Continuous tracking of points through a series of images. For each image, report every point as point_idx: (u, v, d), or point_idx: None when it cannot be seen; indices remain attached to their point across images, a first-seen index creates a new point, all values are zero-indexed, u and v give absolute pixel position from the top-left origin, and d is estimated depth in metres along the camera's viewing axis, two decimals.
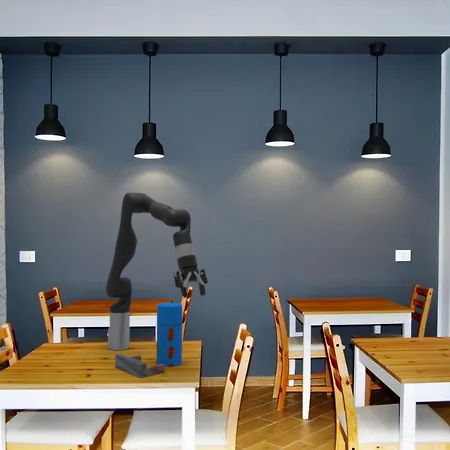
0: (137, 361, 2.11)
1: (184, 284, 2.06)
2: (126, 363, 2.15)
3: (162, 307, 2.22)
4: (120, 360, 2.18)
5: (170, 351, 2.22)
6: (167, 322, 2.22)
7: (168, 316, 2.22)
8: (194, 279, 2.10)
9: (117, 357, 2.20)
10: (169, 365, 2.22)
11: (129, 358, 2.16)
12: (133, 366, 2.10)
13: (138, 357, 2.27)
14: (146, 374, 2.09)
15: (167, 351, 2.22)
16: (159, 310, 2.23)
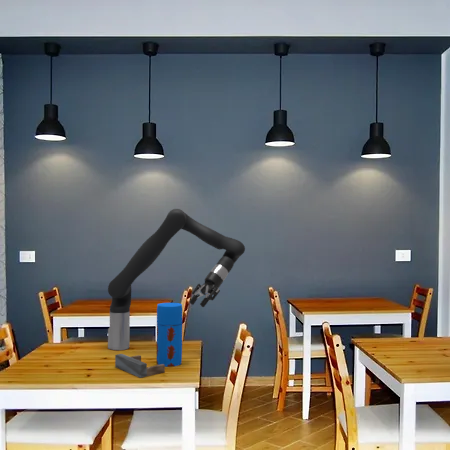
0: (137, 361, 2.11)
1: None
2: (126, 363, 2.15)
3: (162, 307, 2.22)
4: (120, 360, 2.18)
5: (170, 351, 2.22)
6: (167, 322, 2.22)
7: (168, 316, 2.22)
8: None
9: (117, 357, 2.20)
10: (169, 365, 2.22)
11: (129, 358, 2.16)
12: (133, 366, 2.10)
13: (138, 357, 2.27)
14: (146, 374, 2.09)
15: (167, 351, 2.22)
16: (159, 310, 2.23)
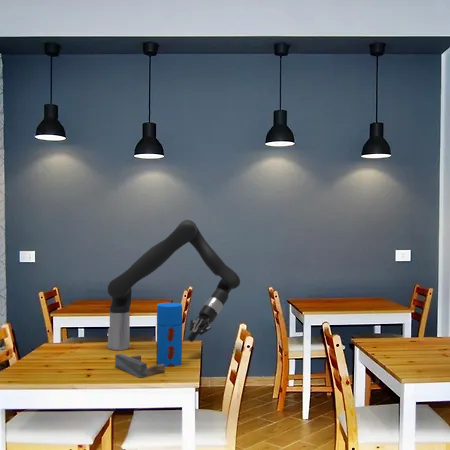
0: (137, 361, 2.11)
1: None
2: (126, 363, 2.15)
3: (162, 307, 2.22)
4: (120, 360, 2.18)
5: (170, 351, 2.22)
6: (167, 322, 2.22)
7: (168, 316, 2.22)
8: None
9: (117, 357, 2.20)
10: (169, 365, 2.22)
11: (129, 358, 2.16)
12: (133, 366, 2.10)
13: (138, 357, 2.27)
14: (146, 374, 2.09)
15: (167, 351, 2.22)
16: (159, 310, 2.23)
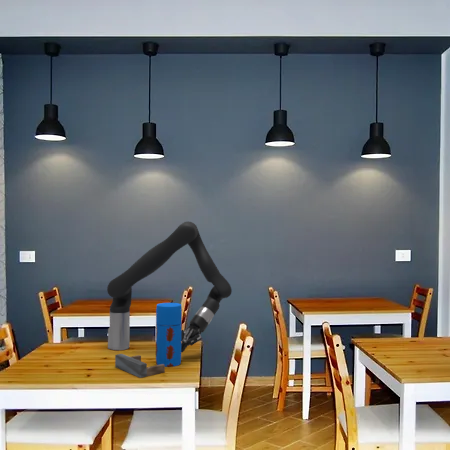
0: (137, 361, 2.11)
1: None
2: (126, 363, 2.15)
3: (161, 307, 2.22)
4: (120, 360, 2.18)
5: (169, 351, 2.22)
6: (166, 322, 2.21)
7: (167, 316, 2.21)
8: None
9: (117, 357, 2.20)
10: (168, 365, 2.22)
11: (129, 358, 2.16)
12: (133, 366, 2.10)
13: (138, 357, 2.27)
14: (146, 374, 2.09)
15: (166, 351, 2.22)
16: (158, 310, 2.23)
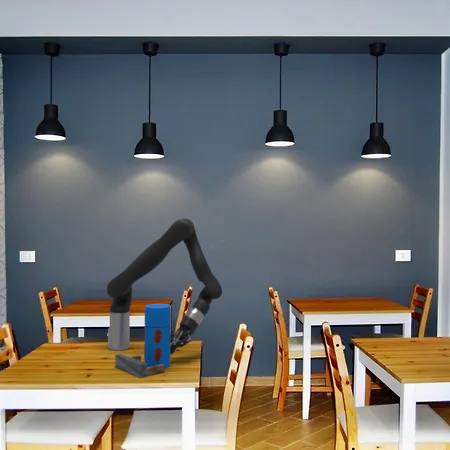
0: (137, 361, 2.11)
1: None
2: (126, 363, 2.15)
3: (149, 308, 2.19)
4: (120, 360, 2.18)
5: (157, 353, 2.18)
6: (154, 324, 2.18)
7: (155, 317, 2.18)
8: None
9: (117, 357, 2.20)
10: None
11: (129, 358, 2.16)
12: (133, 366, 2.10)
13: (138, 357, 2.27)
14: (146, 374, 2.09)
15: (154, 353, 2.18)
16: (146, 311, 2.20)
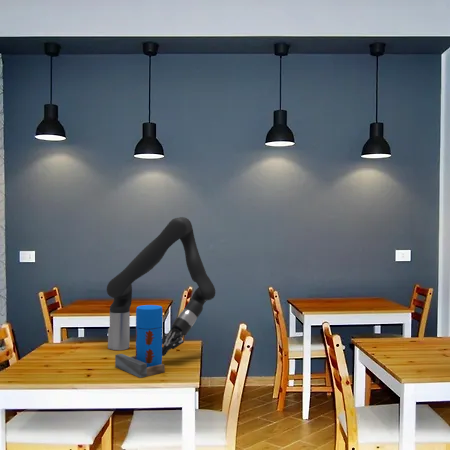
0: (137, 361, 2.11)
1: None
2: (126, 363, 2.15)
3: (140, 310, 2.16)
4: (120, 360, 2.18)
5: (148, 355, 2.15)
6: (145, 325, 2.15)
7: (146, 319, 2.15)
8: None
9: (117, 357, 2.20)
10: None
11: (129, 358, 2.16)
12: (133, 366, 2.10)
13: None
14: (146, 374, 2.09)
15: (146, 355, 2.15)
16: (138, 313, 2.17)
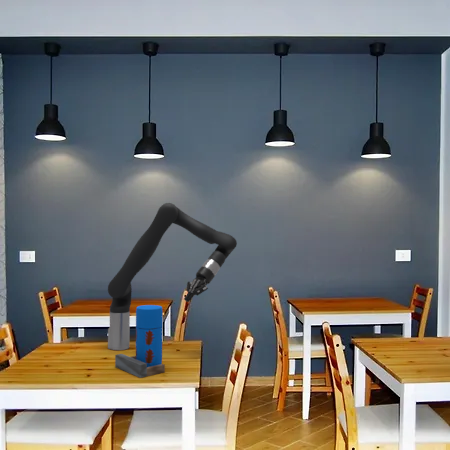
0: (137, 361, 2.11)
1: None
2: (126, 363, 2.15)
3: (140, 310, 2.16)
4: (120, 360, 2.18)
5: (148, 355, 2.15)
6: (145, 325, 2.15)
7: (146, 319, 2.15)
8: None
9: (117, 357, 2.20)
10: None
11: (129, 358, 2.16)
12: (133, 366, 2.10)
13: None
14: (146, 374, 2.09)
15: (145, 355, 2.15)
16: (138, 313, 2.17)
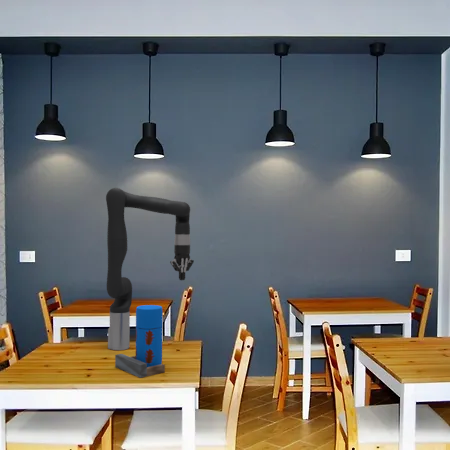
0: (137, 361, 2.11)
1: (182, 270, 2.54)
2: (126, 363, 2.15)
3: (140, 310, 2.16)
4: (120, 360, 2.18)
5: (148, 355, 2.15)
6: (145, 325, 2.15)
7: (146, 319, 2.15)
8: None
9: (117, 357, 2.20)
10: None
11: (129, 358, 2.16)
12: (133, 366, 2.10)
13: None
14: (146, 374, 2.09)
15: (145, 355, 2.15)
16: (138, 313, 2.17)
